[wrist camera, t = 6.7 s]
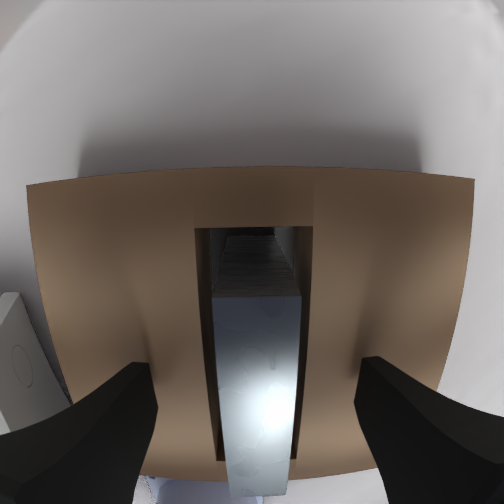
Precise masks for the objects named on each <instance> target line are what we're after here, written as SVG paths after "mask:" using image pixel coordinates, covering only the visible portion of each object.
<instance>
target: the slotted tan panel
mask: <svg viewBox="0 0 504 504" xmlns="http://www.w3.org/2000/svg"><path fill="white" fill-rule="evenodd" d="M474 180H475V179H471V178H463V177H455V176H446V175H437V174H427V173H416V172H404V171H391V170H376V169H359V168H336V167H295V166H254V167H213V168H190V169H172V170H157V171H143V172H131V173H120V174H110V175H100V176H91V177H83V178H75V179H67V180H59V181H52V182H45V183H38V184H32V185H26V187H27V202H28V214H29V224H30V232H31V240H32V247H33V254H34V260H35V266H36V272H37V278H38V283H39V288H40V293H41V297H42V302H43V306H44V311H45V315H46V319H47V323H48V327H49V330H50V334H51V338H52V341H53V345H54V348H55V352H56V355H57V358H58V361H59V364H60V367H61V370H62V373H63V376H64V379H65V382H66V385H67V388H68V391H69V393H70V396H71V399H72V401H73V404H75V403H76V402H78V401H79V400H81V399H82V398H84V397H85V396H87V395H88V394H90V393H91V392H92V391H94V390H95V389H97V388H98V387H99V386H101V385H102V384H103V383H105V382H106V381H107V380H109V379H110V378H111V377H112V376H114V375H115V374H116V373H118V372H119V371H120V370H121V369H123V368H124V367H125V366H127V365H128V364H130V363H131V362H146V363H149V366H150V371H151V376H152V380H153V385H154V390H155V394H156V399H157V403H158V407H159V408H158V413H157V419H156V424H155V429H154V433H153V436H152V439H151V442H150V444H149V447H148V450H147V453H146V456H145V459H144V462H143V465H142V468H141V471H140V474H139V475H145V476H152V477H160V478H169V479H180V480H193V481H211V482H228V475H227V467H226V458H225V449H224V440H223V430H222V420H221V410H220V400H219V388H218V377H217V365H216V352H215V339H214V324H213V309H212V295H213V292H212V273H211V253H210V230H209V228H223V227H283V226H294V268H293V277H294V280H295V282H296V284H297V287H298V289H299V291H300V294H301V296H302V299H301V321H300V340H299V356H298V371H297V385H296V398H295V411H294V422H293V433H292V443H291V453H290V463H289V472H288V480H297V479H308V478H317V477H325V476H332V475H339V474H346V473H352V472H357V471H363V470H368V469H373V468H378V467H377V465H376V462H375V460H374V458H373V456H372V453H371V451H370V449H369V446H368V444H367V442H366V439H365V437H364V435H363V432H362V430H361V428H360V425H359V421H358V418H357V414H356V410H355V406H354V403H353V402H354V398H355V393H356V388H357V382H358V377H359V372H360V366H361V360H362V358H363V357H372V356H379V357H381V358H383V359H385V360H386V361H388V362H389V363H391V364H392V365H394V366H396V367H397V368H399V369H400V370H402V371H403V372H405V373H406V374H408V375H409V376H411V377H412V378H414V379H415V380H417V381H419V382H420V383H422V384H424V385H425V386H427V387H429V388H430V389H432V390H434V391H437V388H438V385H439V382H440V379H441V376H442V373H443V369H444V366H445V363H446V359H447V356H448V352H449V349H450V345H451V341H452V337H453V333H454V329H455V325H456V321H457V316H458V312H459V307H460V302H461V297H462V292H463V287H464V281H465V275H466V269H467V262H468V255H469V247H470V238H471V229H472V217H473V203H474Z"/></svg>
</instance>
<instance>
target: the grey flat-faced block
mask: <svg viewBox="0 0 504 504" xmlns="http://www.w3.org/2000/svg"><path fill="white" fill-rule="evenodd" d="M301 299H302V296H301V294H300V291H299V289H298V287H297V284H296V282H295V280H294V277H293V275H292V273H291V271H290V268H289V266H288V264H287V262H286V259H285V257H284V255H283V252H282V250H281V248H280V246H279V243H278V241H277V239H276V237H275V235H270V236H228V238H227V242H226V246H225V249H224V253H223V257H222V261H221V265H220V268H219V272H218V276H217V280H216V284H215V288H214V291H213V295H212V309H213V324H214V339H215V352H216V365H217V377H218V388H219V400H220V410H221V420H222V430H223V440H224V449H225V458H226V467H227V475H228V483H229V491H230V497H254V496H278V495H286V489H287V481H288V472H289V463H290V453H291V443H292V433H293V422H294V411H295V398H296V385H297V371H298V356H299V340H300V321H301Z"/></svg>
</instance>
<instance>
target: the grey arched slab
mask: <svg viewBox="0 0 504 504" xmlns="http://www.w3.org/2000/svg"><path fill="white" fill-rule="evenodd" d="M70 406H71V405H70V403H69V401H68V399H67V397H66V396H65V394H64V392H63V390H62V388H61V386H60V384H59V383H58V381H57V379H56V377H55V375H54V373H53V371H52V369H51V367H50V364H49V362H48V360H47V358H46V356H45V354H44V352H43V349H42V347H41V345H40V343H39V340H38V338H37V336H36V333H35V331H34V329H33V326H32V324H31V321H30V319H29V316H28V313H27V311H26V308H25V305H24V303H23V300H22V297H21V294H20V293H19V292H4V293H3V294H2V296H1V297H0V435H2V434H6V433H10V432H13V431H16V430H19V429H23V428H25V427H28V426H30V425H33V424H35V423H38V422H40V421H43V420H45V419H47V418H49V417H51V416H53V415H55V414H57V413H59V412H61V411H63V410H65V409H66V408H68V407H70Z"/></svg>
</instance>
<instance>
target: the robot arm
mask: <svg viewBox="0 0 504 504" xmlns="http://www.w3.org/2000/svg"><path fill="white" fill-rule="evenodd" d="M353 403H354V406H355V410H356V414H357V418H358V421H359V425H360V428H361V430H362V432H363V435H364V437H365V439H366V442H367V444H368V446H369V449H370V451H371V453H372V456H373V458H374V460H375V462H376V465H377V467H378V469H379V472H380V475H381V477H382V480H383V483H384V487H385V491H386V494H387V498H388V502H389V504H504V417H501V416H497V415H493V414H489V413H486V412H483V411H479V410H476V409H473V408H471V407H468V406H466V405H463V404H461V403H458V402H456V401H454V400H452V399H449V398H447V397H445V396H443V395H441V394H440V393H438V392H436V391H434V390H432V389H430V388H429V387H427V386H425V385H424V384H422V383H420V382H419V381H417V380H415V379H414V378H412V377H411V376H409V375H408V374H406V373H405V372H403V371H402V370H400V369H399V368H397V367H396V366H394V365H392V364H391V363H389V362H388V361H386V360H385V359H383V358H381V357H379V356H372V357H363V358H362V360H361V366H360V372H359V377H358V382H357V388H356V393H355V398H354V402H353ZM158 408H159V407H158V403H157V399H156V394H155V390H154V385H153V380H152V376H151V371H150V366H149V363H146V362H131V363H130V364H128V365H127V366H125V367H124V368H123V369H121V370H120V371H119V372H118V373H116V374H115V375H114V376H112V377H111V378H110V379H109V380H107V381H106V382H105V383H103V384H102V385H101V386H99V387H98V388H97V389H95V390H94V391H92V392H91V393H90V394H88V395H87V396H85V397H84V398H82V399H81V400H79V401H78V402H76V403H75V404H73V405H71V406H70V407H68V408H66V409H65V410H63V411H61V412H59V413H57V414H55V415H53V416H51V417H49V418H47V419H45V420H43V421H40V422H38V423H35V424H33V425H30V426H28V427H25V428H23V429H19V430H16V431H13V432H10V433H6V434H2V435H0V504H132V501H133V496H134V491H135V487H136V483H137V479H138V476H139V474H140V471H141V468H142V465H143V462H144V459H145V456H146V453H147V450H148V447H149V444H150V442H151V439H152V436H153V433H154V429H155V424H156V419H157V413H158ZM145 477H146V479H147V481H148V484H149V486H150V488H151V491H152V493H153V495H154V497H155V499H156V504H263V496H254V497H230V491H229V483H228V482H211V481H193V480H180V479H169V478H160V477H152V476H145Z"/></svg>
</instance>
